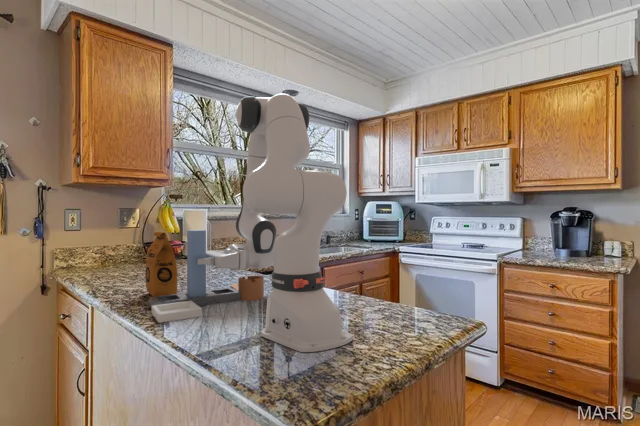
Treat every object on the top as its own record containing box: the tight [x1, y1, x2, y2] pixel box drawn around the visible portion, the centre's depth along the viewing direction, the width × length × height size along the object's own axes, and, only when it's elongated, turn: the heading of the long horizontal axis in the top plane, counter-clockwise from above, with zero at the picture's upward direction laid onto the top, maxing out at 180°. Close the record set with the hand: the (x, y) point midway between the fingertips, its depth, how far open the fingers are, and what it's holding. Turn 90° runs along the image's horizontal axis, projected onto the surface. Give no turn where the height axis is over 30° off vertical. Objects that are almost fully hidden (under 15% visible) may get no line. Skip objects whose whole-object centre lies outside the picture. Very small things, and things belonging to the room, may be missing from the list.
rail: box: [149, 287, 242, 309], centre depth 116 cm, size 9×26×2 cm, turn 124°
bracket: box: [230, 275, 265, 302], centre depth 127 cm, size 18×8×7 cm, turn 29°
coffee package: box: [144, 230, 179, 297], centre depth 127 cm, size 10×12×22 cm
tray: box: [151, 301, 203, 324], centre depth 102 cm, size 11×11×2 cm
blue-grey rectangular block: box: [186, 229, 207, 298], centre depth 116 cm, size 5×5×23 cm
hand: (193, 260), depth 115 cm, fingers open, 6 cm apart
